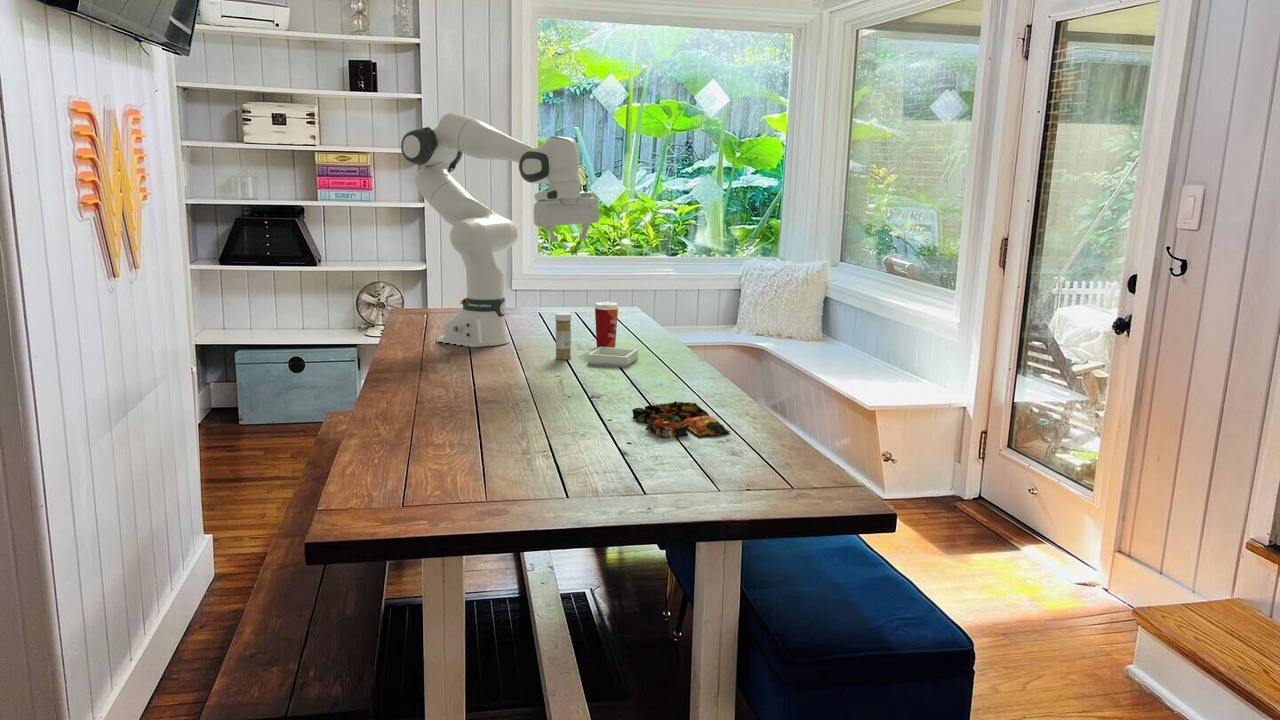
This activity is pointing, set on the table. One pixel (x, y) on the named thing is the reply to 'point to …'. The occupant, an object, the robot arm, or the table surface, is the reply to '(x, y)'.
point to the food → (678, 420)
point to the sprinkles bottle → (563, 335)
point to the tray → (613, 357)
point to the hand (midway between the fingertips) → (568, 240)
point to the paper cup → (606, 323)
